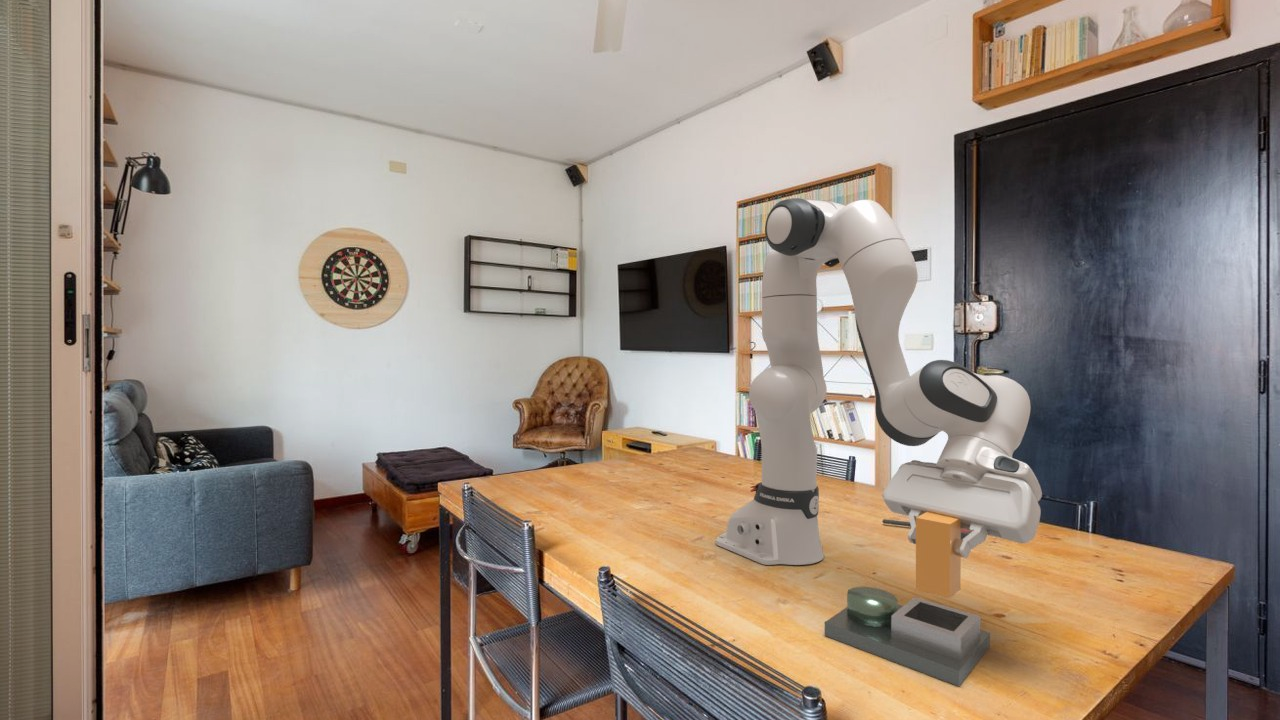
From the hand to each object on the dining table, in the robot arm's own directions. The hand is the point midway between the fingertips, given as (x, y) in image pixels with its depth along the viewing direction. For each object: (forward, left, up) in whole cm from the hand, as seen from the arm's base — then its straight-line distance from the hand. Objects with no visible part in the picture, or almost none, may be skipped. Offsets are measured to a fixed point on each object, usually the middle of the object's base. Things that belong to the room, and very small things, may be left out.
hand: (935, 548), depth 80 cm
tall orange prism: (0, +1, -6) cm, 6 cm away
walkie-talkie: (-19, +56, -15) cm, 61 cm away
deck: (-4, +1, -15) cm, 15 cm away
